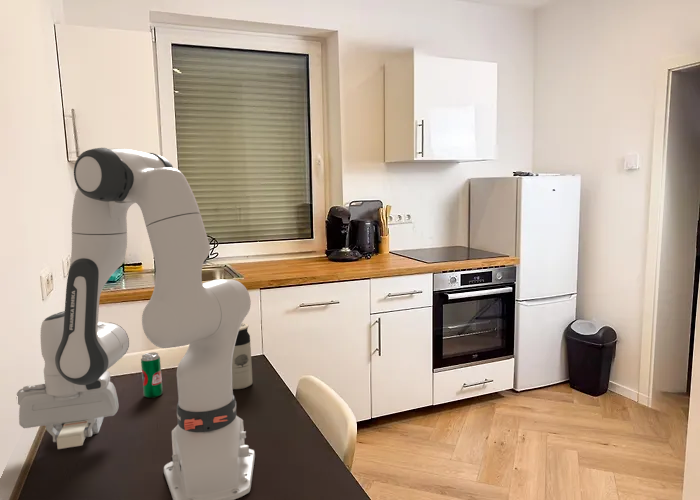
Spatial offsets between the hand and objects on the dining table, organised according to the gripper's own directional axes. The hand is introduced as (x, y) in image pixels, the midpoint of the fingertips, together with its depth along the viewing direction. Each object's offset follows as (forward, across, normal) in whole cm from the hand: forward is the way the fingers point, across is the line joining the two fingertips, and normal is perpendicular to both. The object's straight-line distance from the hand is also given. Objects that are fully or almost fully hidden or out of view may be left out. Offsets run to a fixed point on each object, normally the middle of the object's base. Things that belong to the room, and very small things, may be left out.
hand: (73, 438), depth 121 cm
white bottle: (+2, +40, +24) cm, 46 cm away
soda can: (+2, +16, +24) cm, 29 cm away
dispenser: (+2, 0, +10) cm, 11 cm away
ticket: (0, 0, +4) cm, 4 cm away
